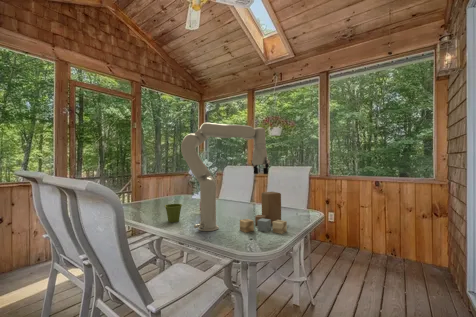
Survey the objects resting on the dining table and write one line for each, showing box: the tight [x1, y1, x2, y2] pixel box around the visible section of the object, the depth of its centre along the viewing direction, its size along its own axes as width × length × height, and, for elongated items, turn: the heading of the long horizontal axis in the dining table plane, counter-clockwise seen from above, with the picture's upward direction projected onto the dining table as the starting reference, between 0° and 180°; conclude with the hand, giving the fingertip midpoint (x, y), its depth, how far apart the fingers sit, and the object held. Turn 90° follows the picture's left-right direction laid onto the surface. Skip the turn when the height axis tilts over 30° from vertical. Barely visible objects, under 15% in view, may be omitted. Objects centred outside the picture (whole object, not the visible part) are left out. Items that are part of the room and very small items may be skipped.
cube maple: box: [272, 219, 288, 235], centre depth 137 cm, size 6×6×6 cm
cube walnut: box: [254, 214, 267, 227], centre depth 151 cm, size 6×6×6 cm
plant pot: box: [164, 203, 183, 223], centre depth 163 cm, size 12×12×11 cm
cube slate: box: [256, 218, 272, 233], centre depth 141 cm, size 6×6×6 cm
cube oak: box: [239, 218, 255, 233], centre depth 140 cm, size 6×6×6 cm
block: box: [261, 191, 282, 225], centre depth 158 cm, size 10×10×20 cm
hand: (260, 173), depth 149 cm, fingers open, 9 cm apart
